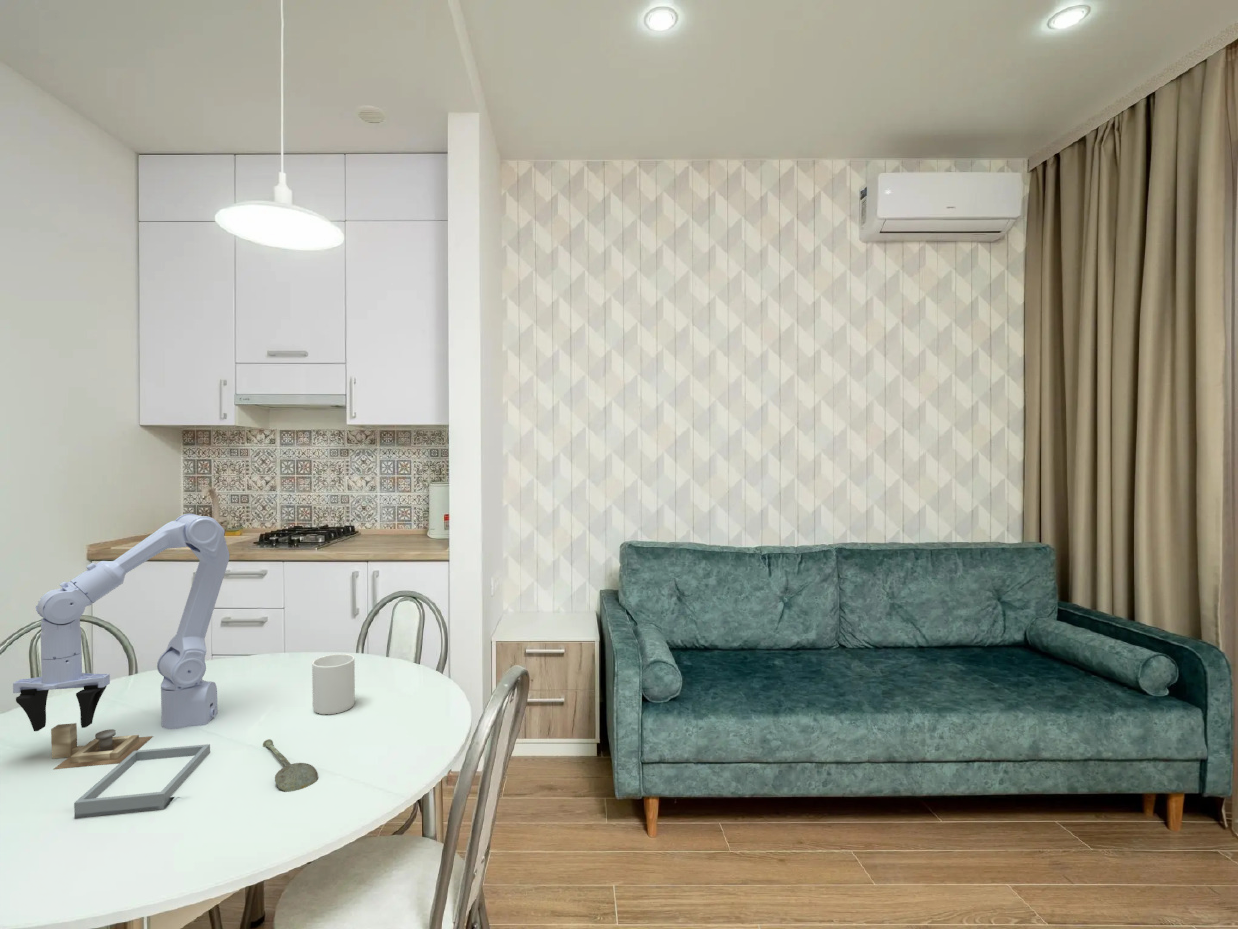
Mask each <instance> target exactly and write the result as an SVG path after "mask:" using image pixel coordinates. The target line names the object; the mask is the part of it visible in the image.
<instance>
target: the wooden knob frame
mask: <svg viewBox="0 0 1238 929" xmlns="http://www.w3.org/2000/svg"><path fill="white" fill-rule="evenodd" d="M77 724H78V723H77V722H75V723H74V722H73V723H62V724H61V723H60V724H57V725H55V726H53V727H52V728H51V729H50V738H51V739H50V740H51V759H54V760H55V759H63V758H66V759H67V758H69V757H70V760H71V763H81V762H92V761H103V760H115V759H118V758H120V757H121V756H122V755H123V754H124V753H125V752H127V751H128V750H129V749H130V748H131V747H132V746H134V745H135V744H136V743H137V742H138V741H139V737H140V735H139V734H132V735H120V736H113V737H112V738H113V746H115V745H119V746H118V747H117V748H116V749H114V750H111V751H100V752H93V751H94V750H95V749H97V748H98V747H99V740H97V739H95V738H94V739H93V740H91V742H90V741H89V742H90V743H89V742H87V743H88V744H87V743H86V744H87V745H86V744H85V745H86V746H85V745H78V731H77V730H78V728H77Z"/></svg>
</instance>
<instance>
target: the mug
mask: <svg viewBox="0 0 1238 929" xmlns="http://www.w3.org/2000/svg"><path fill="white" fill-rule="evenodd" d="M355 662H356V661H355V656H354V655H352V654H348V653H333V654H332V653H331V654H327V655H324V656H323V655H322V656H320V657H317V658H315V659H314V660H313V661H312V662H311V664H312V665H311V671H312V672H311V674H312V675H311V676H312V678H311V679H312V710H314V712H315V713H317V714H318V713H319V715H325V714H328V715H336V713H337V714H340V713H344V712H346V711H349V710H350V709H351V708H353V707H354V705H355V702H356V701H355V700H356V697H355V693H356V690H355V688H356V687H355V681H356V679H355V677H356V676H355V670H356V669H355V668H356V667H355Z"/></svg>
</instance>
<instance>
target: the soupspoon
mask: <svg viewBox="0 0 1238 929" xmlns="http://www.w3.org/2000/svg"><path fill="white" fill-rule="evenodd" d="M274 745H275V744H274V742H273V739H270V738H269V739H265V740H263V742H262V747H263V748H268V749H270V750H271V751H272V752H273V753H274V755H276V756H277V758H278V759H279V760H280V761H281V763H282V764H283V766H284V767H282V768H280V769H279V770H278V772H276V774H275V776H274V782H275V784H276V785H277V787H278V789H279V790H281V791H284V792H286V793H287V792H288V793H291V792H295V791H300V790H303V789H305V788H308V787H311V785H314V784H315V783H316V782H317V781H318V778H319V774H318V771H317V769H316V768H315V767H314V766H313V765H312V764H309V763H306V762H296V763H294V762H293V763H290V760H288V759H287V758H286V757H285V756H284V754H282V753H281V751H279V750H278V749H277V748H276V747H275V746H274Z"/></svg>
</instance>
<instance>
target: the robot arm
mask: <svg viewBox="0 0 1238 929" xmlns="http://www.w3.org/2000/svg"><path fill="white" fill-rule="evenodd" d="M226 540H227V539H226V538H225V528H223V526H222V525H221V524H220V523H219V522H218V521H217V520H216V519H215V518H213V517H211V516H205V515H203V516H202V515H198V514H197V513H196V514H195V513H185V514H182V515H180V516H178V517H177V518H176V519H175V520H171V521H169V522H167V523H165V524H164V525H163V526H161V527H159V529H156V531H154V532H153V533H151V534H150V535H149V536H147V537H145V538H144V539H143V540H141V541H140V542H138V543H136V545H134V546H133V547H131V548H130V549H128V550H127V551H126V552H124V553H123V554H121V555H119V557H117V558H116V559H114V560H111V561H108V560H101V561H99V562H97V563H94V562H91V563H89V564H88V565H86V566H85V567H86V570H85V571H83V572H81V573H80V574H79V575H77V576H75V577H74V578H72V579H70V581H63V582H61V583H60V584H59V586H60V588H56V589H51V590H49V591H47V592H46V593H44V594H43V595H42V596H41V597H40V598H39V600H38V601H37V602H38V603H37V605H35V610H36V612H37V614H38V615H39V616H40V617H41V619H40V621H41V622H40V629H41V632H40V636H39V637H40V659H41V660H40V665H41V666H40V670H41V672H40V674H41V675H40V676H37V677H30V678H20V679H18V680H16V681H14V682H13V683H12V693H13V694H19V695H18V696H16V697H15V702H16V703H17V704H18V706H20V707H21V709H22V710H23V711H24V713H26V716H27V718H28V719H29V723H30V725H31V727H32V730H33V732H39V731H40V730H42V729H43V728H45V727H46V725H47V724H46V723H47V711H46V710H47V702H48V701H47V700H48V694H49V691H50V690H51V691H52V690H53V691H54V690H66V689H81V688H82V689H81V690H80V691H78V692H76V693H75V697H76V699H77V701H78V706H79V711H80V712H79V714H80V727H81V729H83V728H84V729H85V728H87V727H89V726H90V725H92V724H93V721H94V717H95V712H96V709H97V707H98V704H99V701H100V699H101V697H102V695H103V694H104V692H105V690H106V688H107V686H108V685H110V681H111V677H110V676H111V674H110V673H93V672H92V673H90V672H88V673H87V672H83V658H82V657H83V656H82V655H83V654H82V652H83V650H82V649H83V648H82V627H81V616H83V614H84V612H85V610H86V607H89V606H91V605H93V604H94V603H96V602H97V601H98V600H100V599H102V598H103V597H104V596H106V595H108V594H109V593H110V592H111V593H112V591H114V590H115V589H116V588H118V587H120V586H121V585H123V583H124V581H125V578H126V574H128V573H129V572H131V571H132V570H135V569H136V568H138V567H139V566H141V565H142V564H144V563H145V562H147V561H148V560H150V559H152V558H153V557H155V556H157V555H158V554H160V553H162V552H164V551H166V550H168V549H180V548H186V547H188V548H189V549H190V550H191V552H192V553H193V554H194V555H195V557H196V558H197V559H198V560H199V562H198V564H197V568H196V571H195V573H194V577H193V581H192V583H191V587H190V590H189V593H188V597H187V599H186V602H185V606H184V609H183V612H182V615H181V619H180V620H179V624H178V628H177V631H176V634H175V635H174V636H173V637H172V638H171V639H170V641H169V642H168V645H167V647H166V649H165V651H164V652H163V653H162V654H161V655H160V656H159V658H158V660H157V662H156V669H157V671H158V673H159V674H160V675H161V676H162V677H163V679H162V681H161V683H160V706H161V707H160V709H161V710H160V712H161V727H162V728H164V729H165V730H175V729H176V730H177V729H182V728H189V727H190V728H191V727H199V726H200V727H201V726H207V725H208V724H209V723H210V721H212V720H213V719H214V718H215V717H216V716H217V715H218V712H219V711H218V688H217V684H216V682H215V681H208V680H207V681H206V680H204V679H203V677H204V675H205V673H206V671H207V666H206V661H205V660H206V655H207V646H206V640H205V638H206V635H207V632H208V629H209V625H210V622H211V620H212V616H213V613H214V609H215V606H216V603H217V599H218V596H219V593H220V591H221V587H222V583H223V580H224V577H225V573H226V571H227V567H228V564H229V561H230V552H229V547H228V544H227V542H226Z"/></svg>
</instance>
